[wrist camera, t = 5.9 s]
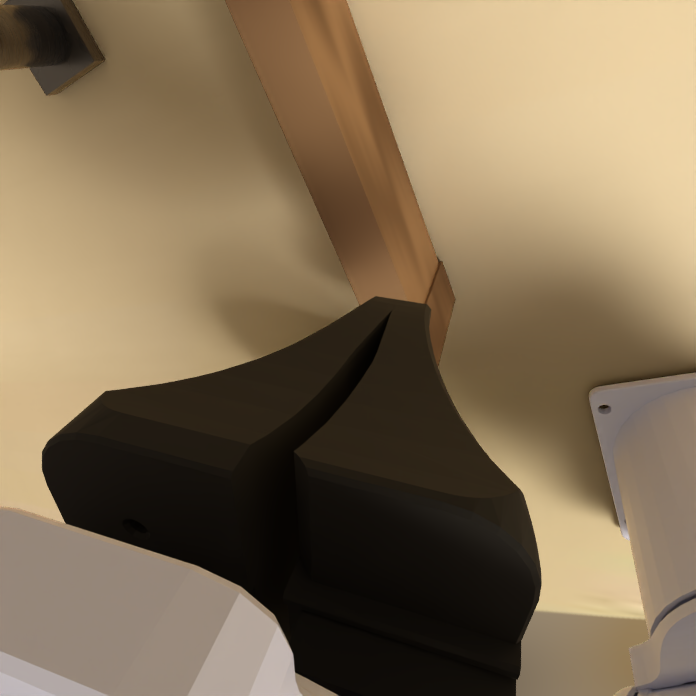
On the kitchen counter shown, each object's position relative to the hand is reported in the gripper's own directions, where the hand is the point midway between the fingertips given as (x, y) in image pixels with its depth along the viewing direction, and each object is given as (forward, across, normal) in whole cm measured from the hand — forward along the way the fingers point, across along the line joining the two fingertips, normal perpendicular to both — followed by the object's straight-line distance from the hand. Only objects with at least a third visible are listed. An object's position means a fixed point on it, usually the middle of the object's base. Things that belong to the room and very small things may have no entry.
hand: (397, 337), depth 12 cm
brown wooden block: (+9, +3, -2) cm, 10 cm away
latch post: (+9, +17, -5) cm, 20 cm away
